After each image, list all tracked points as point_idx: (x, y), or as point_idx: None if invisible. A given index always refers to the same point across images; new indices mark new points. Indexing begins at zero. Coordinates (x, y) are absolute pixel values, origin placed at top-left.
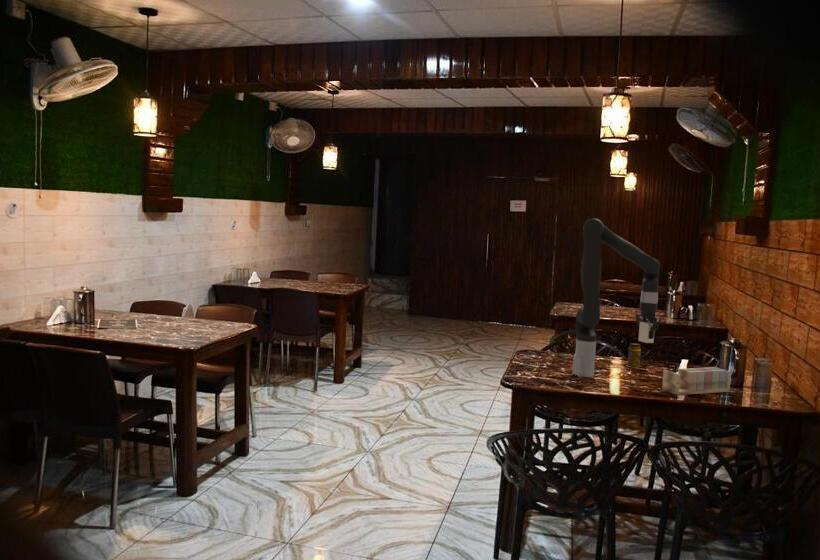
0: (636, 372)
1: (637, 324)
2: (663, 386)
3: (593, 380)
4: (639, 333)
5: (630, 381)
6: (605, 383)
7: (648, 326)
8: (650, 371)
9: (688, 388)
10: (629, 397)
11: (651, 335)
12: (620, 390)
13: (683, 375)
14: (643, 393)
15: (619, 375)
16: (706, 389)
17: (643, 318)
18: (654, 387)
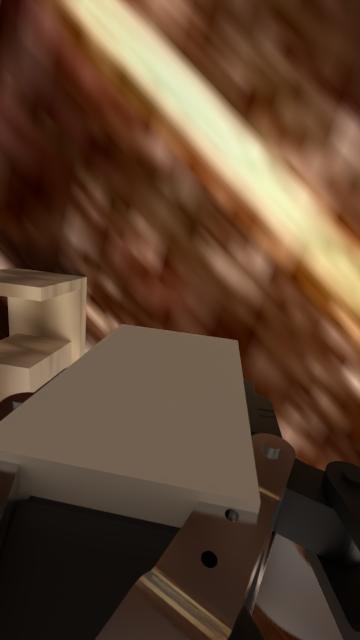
0: (352, 424)
1: (349, 487)
2: (73, 277)
3: (320, 77)
4: (230, 369)
5: (235, 261)
6: (247, 99)
7: (19, 420)
8: None
9: (15, 334)
10: (13, 17)
11: (55, 376)
12: (119, 72)
13: (14, 354)
14: (56, 147)
15: (343, 304)
16: None
17: (124, 614)
18: (124, 280)
